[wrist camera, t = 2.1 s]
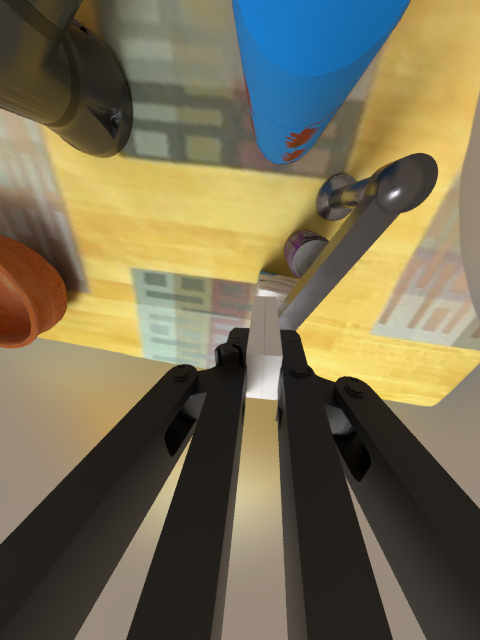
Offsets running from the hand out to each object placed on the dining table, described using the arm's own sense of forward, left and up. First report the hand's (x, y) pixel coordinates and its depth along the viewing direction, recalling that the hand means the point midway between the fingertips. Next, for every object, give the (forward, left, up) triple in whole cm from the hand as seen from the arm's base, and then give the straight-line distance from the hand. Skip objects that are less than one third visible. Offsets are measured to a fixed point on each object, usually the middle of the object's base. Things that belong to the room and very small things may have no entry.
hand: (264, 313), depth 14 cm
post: (-6, +14, -30) cm, 34 cm away
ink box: (+8, +1, -31) cm, 32 cm away
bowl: (-2, -57, -31) cm, 65 cm away
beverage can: (+1, +7, -31) cm, 31 cm away
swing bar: (+3, +6, -13) cm, 15 cm away
